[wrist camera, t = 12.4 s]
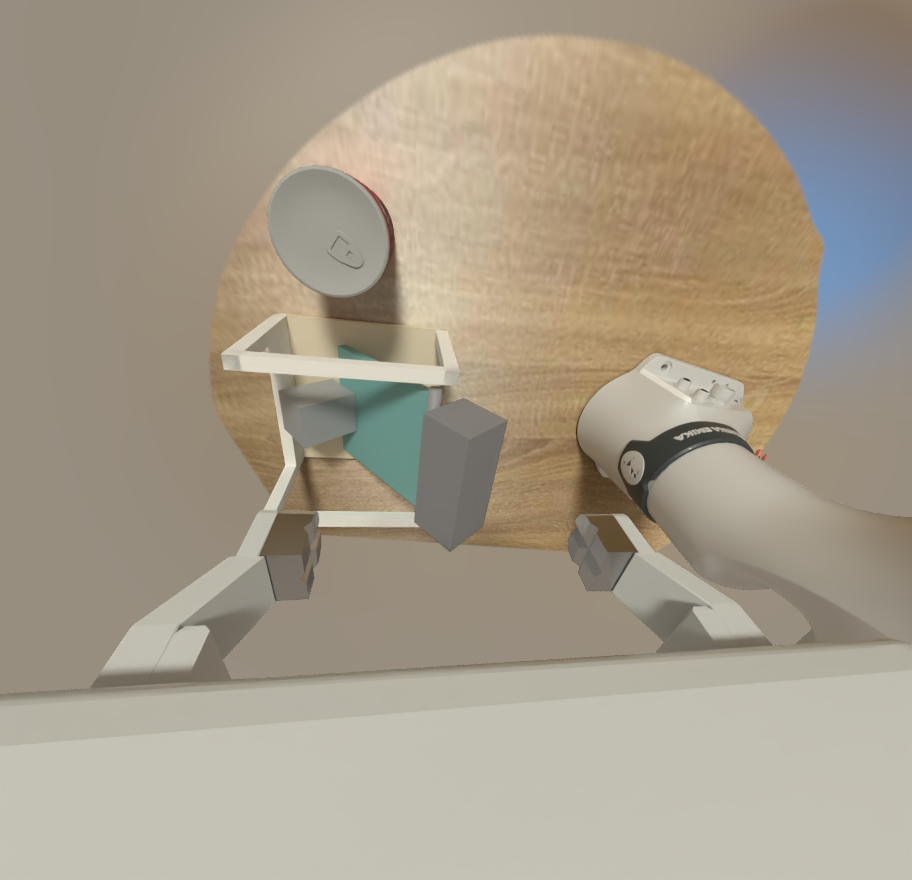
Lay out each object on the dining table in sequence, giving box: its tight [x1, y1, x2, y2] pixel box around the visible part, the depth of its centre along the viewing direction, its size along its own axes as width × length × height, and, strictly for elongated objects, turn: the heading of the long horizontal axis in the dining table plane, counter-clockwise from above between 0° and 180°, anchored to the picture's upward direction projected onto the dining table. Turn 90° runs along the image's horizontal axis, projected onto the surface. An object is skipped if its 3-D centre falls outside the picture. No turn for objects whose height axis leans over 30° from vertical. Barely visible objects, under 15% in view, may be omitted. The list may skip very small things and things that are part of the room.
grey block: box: [278, 379, 357, 448], centre depth 37 cm, size 5×5×6 cm
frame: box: [221, 313, 460, 527], centre depth 36 cm, size 18×18×12 cm
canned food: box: [267, 165, 394, 298], centre depth 28 cm, size 8×8×11 cm
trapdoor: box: [338, 345, 508, 552], centre depth 35 cm, size 20×14×5 cm
